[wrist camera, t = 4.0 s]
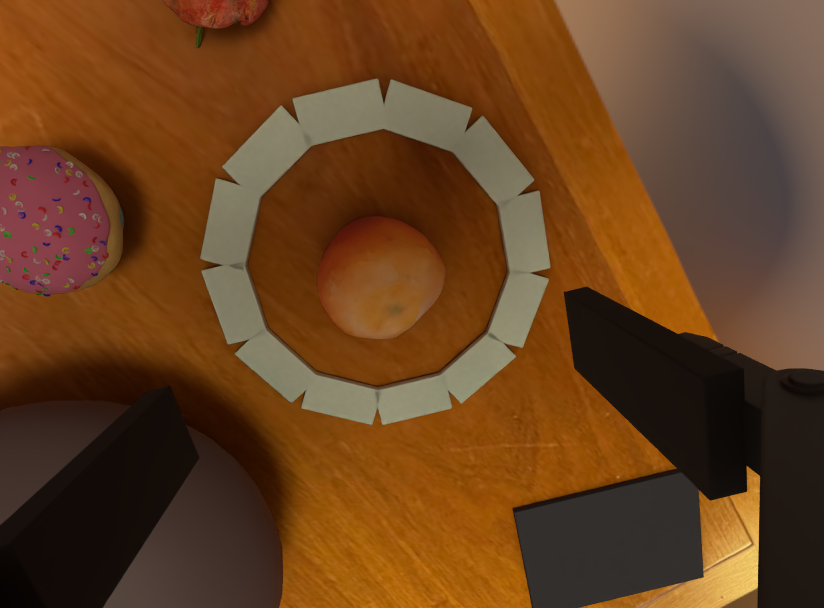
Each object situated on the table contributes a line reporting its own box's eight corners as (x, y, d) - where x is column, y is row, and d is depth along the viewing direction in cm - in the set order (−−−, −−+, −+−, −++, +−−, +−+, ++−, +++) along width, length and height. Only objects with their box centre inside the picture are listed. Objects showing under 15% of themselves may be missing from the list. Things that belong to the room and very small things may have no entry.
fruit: (389, 163, 29) (431, 232, 24) (431, 245, 35) (472, 316, 30) (282, 225, 30) (299, 305, 24) (341, 296, 36) (365, 374, 30)
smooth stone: (258, 646, 41) (193, 897, 27) (-45, 588, 37) (-309, 844, 23) (338, 411, 35) (310, 569, 21) (-9, 315, 32) (-330, 428, 17)
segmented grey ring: (516, 47, 29) (518, 45, 29) (564, 377, 36) (567, 381, 35) (154, 132, 29) (149, 131, 29) (268, 448, 36) (267, 453, 35)
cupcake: (10, 253, 31) (-212, 298, 19) (30, 127, 29) (-204, 93, 17) (141, 294, 32) (7, 359, 20) (168, 176, 30) (37, 174, 19)
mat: (693, 464, 39) (697, 468, 39) (700, 572, 42) (703, 577, 42) (512, 508, 39) (514, 512, 39) (533, 613, 42) (535, 618, 42)
